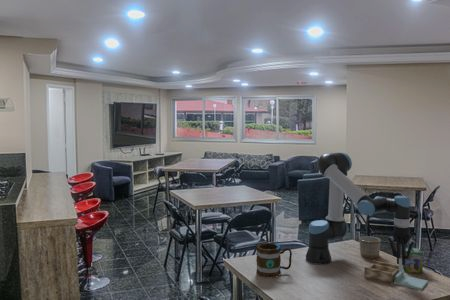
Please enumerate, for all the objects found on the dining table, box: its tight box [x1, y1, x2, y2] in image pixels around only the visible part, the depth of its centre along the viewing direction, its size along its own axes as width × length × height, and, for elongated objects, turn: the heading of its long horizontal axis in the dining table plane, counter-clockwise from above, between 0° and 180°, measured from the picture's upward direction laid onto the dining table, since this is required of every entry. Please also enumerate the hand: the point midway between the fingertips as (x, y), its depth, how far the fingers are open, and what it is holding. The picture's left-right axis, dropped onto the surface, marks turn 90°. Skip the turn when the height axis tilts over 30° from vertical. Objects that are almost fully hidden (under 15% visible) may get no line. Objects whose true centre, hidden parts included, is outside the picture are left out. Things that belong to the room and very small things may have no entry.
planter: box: [358, 235, 381, 259], centre depth 241 cm, size 13×13×10 cm
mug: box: [256, 242, 293, 279], centre depth 213 cm, size 20×14×15 cm
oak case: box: [363, 259, 400, 284], centre depth 208 cm, size 14×14×5 cm
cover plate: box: [393, 270, 429, 291], centre depth 199 cm, size 13×12×4 cm
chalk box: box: [403, 242, 424, 274], centre depth 216 cm, size 9×9×15 cm
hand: (400, 270), depth 201 cm, fingers closed
